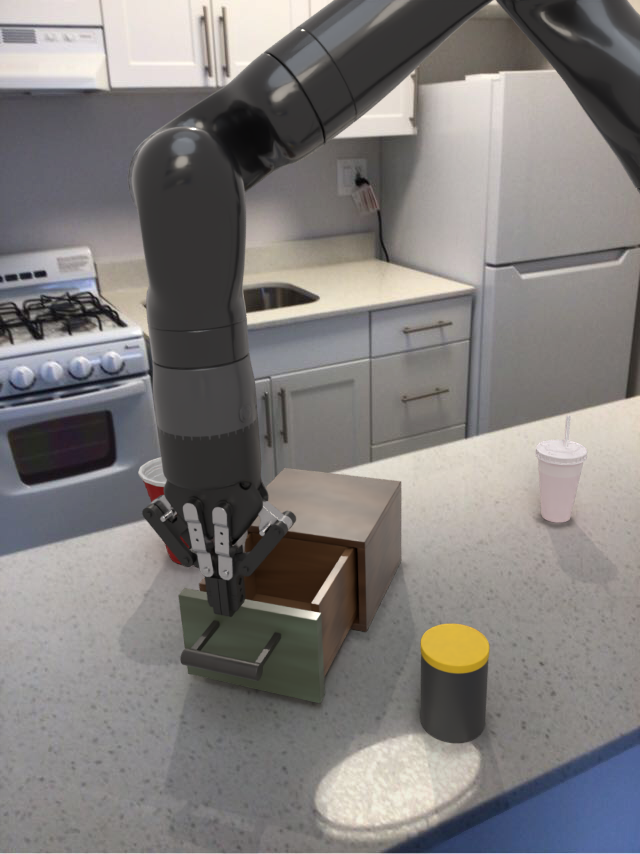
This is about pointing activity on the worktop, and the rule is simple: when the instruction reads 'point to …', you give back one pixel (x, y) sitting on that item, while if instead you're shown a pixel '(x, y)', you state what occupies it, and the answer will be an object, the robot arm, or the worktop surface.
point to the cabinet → (346, 524)
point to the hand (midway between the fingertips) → (227, 610)
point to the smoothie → (559, 475)
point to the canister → (453, 682)
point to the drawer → (276, 621)
